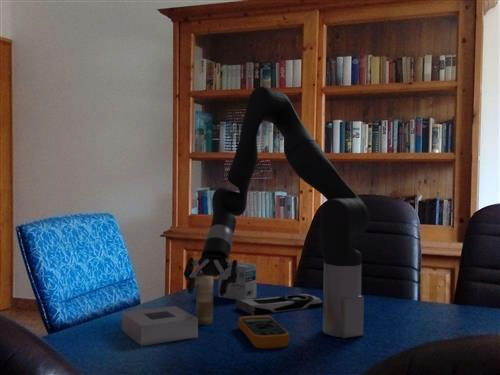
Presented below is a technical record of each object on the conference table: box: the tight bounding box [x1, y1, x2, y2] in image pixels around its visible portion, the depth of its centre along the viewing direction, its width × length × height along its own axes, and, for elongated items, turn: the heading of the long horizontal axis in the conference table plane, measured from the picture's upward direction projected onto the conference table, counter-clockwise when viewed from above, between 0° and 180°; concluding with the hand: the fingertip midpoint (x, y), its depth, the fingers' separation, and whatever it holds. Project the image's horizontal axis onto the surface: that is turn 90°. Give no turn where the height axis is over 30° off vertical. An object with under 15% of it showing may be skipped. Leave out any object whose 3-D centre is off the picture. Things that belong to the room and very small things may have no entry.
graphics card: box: [234, 293, 323, 316], centre depth 160 cm, size 10×3×25 cm
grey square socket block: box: [121, 305, 199, 347], centre depth 133 cm, size 14×14×4 cm
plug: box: [195, 275, 214, 326], centre depth 143 cm, size 4×4×12 cm
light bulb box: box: [217, 262, 258, 300], centre depth 173 cm, size 11×7×11 cm, turn 58°
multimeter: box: [238, 314, 290, 350], centre depth 131 cm, size 9×18×3 cm, turn 14°
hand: (205, 293), depth 144 cm, fingers open, 8 cm apart
